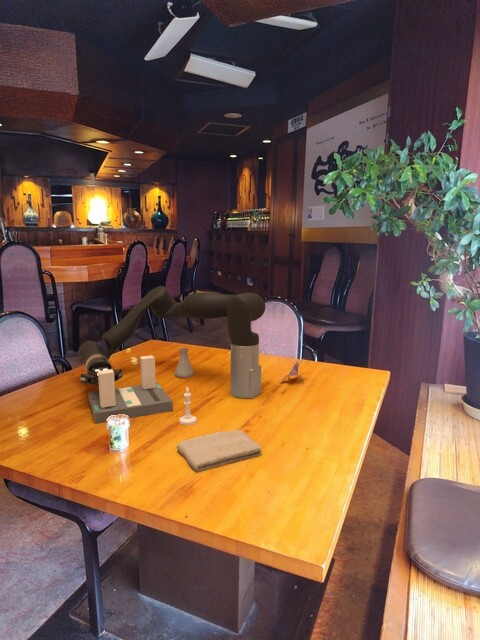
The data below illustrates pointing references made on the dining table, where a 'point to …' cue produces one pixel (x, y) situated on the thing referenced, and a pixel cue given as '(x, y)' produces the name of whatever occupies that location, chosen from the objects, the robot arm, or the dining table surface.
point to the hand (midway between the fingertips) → (105, 384)
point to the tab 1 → (106, 388)
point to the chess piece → (187, 411)
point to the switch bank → (132, 402)
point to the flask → (184, 365)
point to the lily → (294, 371)
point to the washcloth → (218, 449)
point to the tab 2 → (147, 372)
